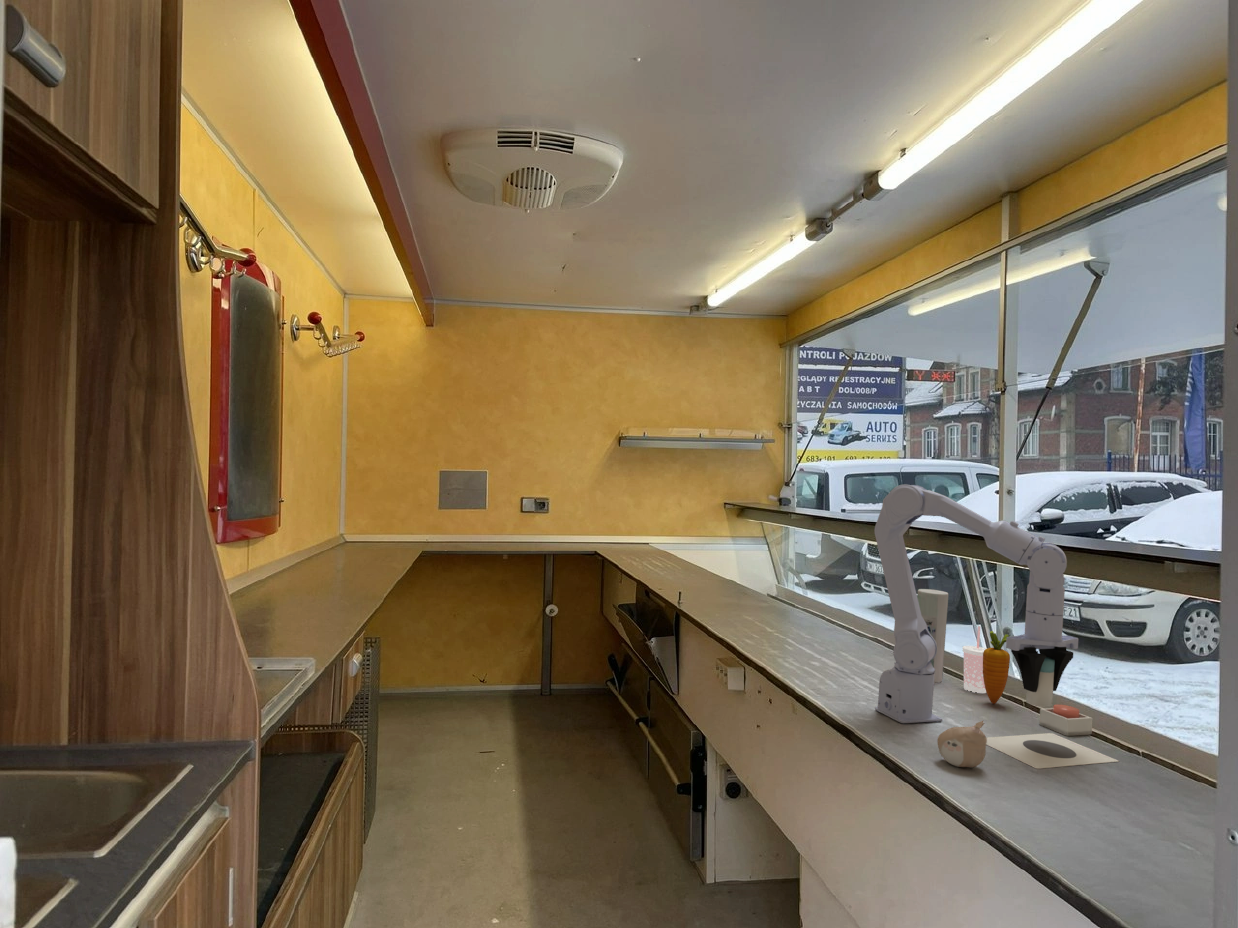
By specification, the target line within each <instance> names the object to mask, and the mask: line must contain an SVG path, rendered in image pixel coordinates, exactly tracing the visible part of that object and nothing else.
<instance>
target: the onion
mask: <svg viewBox="0 0 1238 928" xmlns="http://www.w3.org/2000/svg"><path fill="white" fill-rule="evenodd" d="M984 724H985V722H984V720H982V721H978V722H976V723H975V724H974V725H972V726H953V727H948V728H947V729H945V730H944V731H942V732H940V734H939V735H938V737H937V748H938V751H939V753H940V755H941V756H942V757H943V759H945V761H946V762H948V763H949V764H950V765H952V766H955V767H958V768H970V769H971V768H972V769H973V768H975V767H977V766H979V765H980V764H981V763H982V762H983V761H984V759H985V757H986V751H987V750H986V749H987V745H986V743H987V739H986V738H987V737H986V734H985V733H984V732H983V731H982V727H983V726H984Z"/></svg>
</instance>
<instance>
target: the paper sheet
mask: <svg viewBox="0 0 1238 928" xmlns="http://www.w3.org/2000/svg"><path fill="white" fill-rule="evenodd" d="M986 739H987V743H986V746H988V747H990V748H992V749H994V750H997V751H998V752H1000V753H1003V754H1004V755H1007V756H1009V757H1011V758H1012V759H1015V760H1018V761H1020V762H1021V763H1024V764H1025V765H1028V766H1030V767H1031V768H1034V769H1036V770H1040V769H1042V770H1043V769H1050V768H1051V769H1053V768H1063V767H1074V766H1082V765H1083V766H1084V765H1085V766H1086V765H1096V764H1107V763H1116V762H1117V763H1118V762H1120V760H1117V759H1116V758H1113V757H1110V756H1108V755H1105V754H1104V753H1100V752H1099V751H1096V750H1093V749H1092V748H1089V747H1087V746H1084V745H1081V744H1079V743H1076V742H1074V741H1072V740H1069V739H1067V738H1065V737H1062V736H1059V735H1057V734H1055V733H1053V732H1047V733H1033V734H1032V733H1030V734H1017V735H1005V736H1004V735H1003V736H990V737H989V736H988V737H986Z"/></svg>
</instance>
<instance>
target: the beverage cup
mask: <svg viewBox="0 0 1238 928" xmlns="http://www.w3.org/2000/svg"><path fill="white" fill-rule="evenodd" d="M980 637H981V625H978V626H977V636H976V645H975V646H974V645H964V646H962V652H963V689H964V690H965V691H967V690H968V692H970V691H972V692H971V693H975V692H977V694H987V692H986V689H985V685H984V679H983V652H984V650H985V649H988V648H987V647H982V646H980V640H981V638H980Z"/></svg>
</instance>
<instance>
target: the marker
mask: <svg viewBox="0 0 1238 928" xmlns="http://www.w3.org/2000/svg"><path fill="white" fill-rule="evenodd" d="M1054 664H1055V660H1054V659H1052V658H1049V657H1046V658H1045V660H1044V662H1043V664H1042V667H1041V670H1040V675H1039V683H1038V688H1037V691H1036V692H1031V691H1029V690H1026V695H1025V702H1026V703H1027V704H1029V705H1031V706H1035V707H1040V708H1053V696H1054V691H1053V682H1054Z"/></svg>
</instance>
